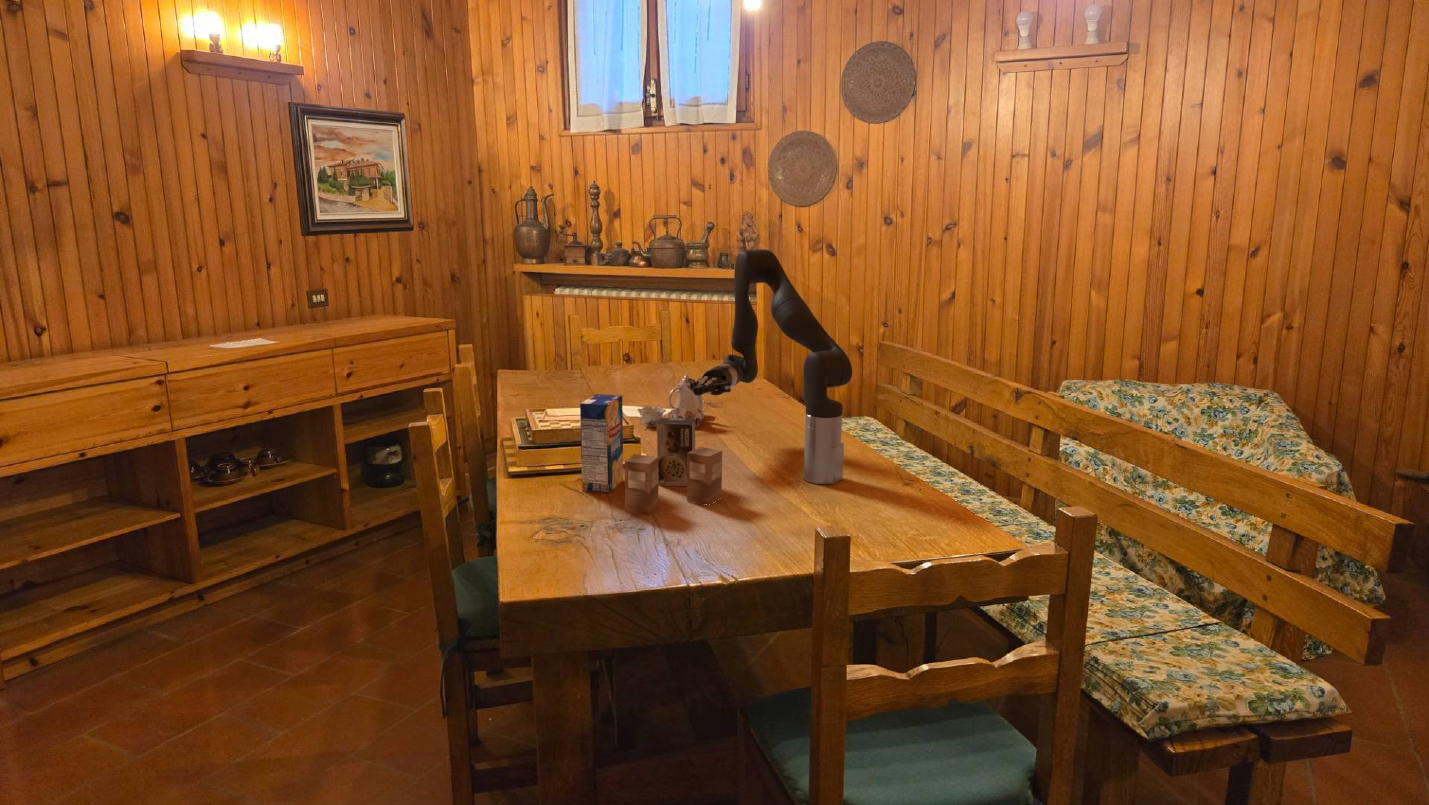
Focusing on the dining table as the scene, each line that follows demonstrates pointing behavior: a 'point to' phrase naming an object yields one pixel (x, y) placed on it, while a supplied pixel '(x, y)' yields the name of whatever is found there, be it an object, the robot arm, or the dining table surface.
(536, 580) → the dining table surface
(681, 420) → the coffee box
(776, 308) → the robot arm
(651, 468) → the marked block 1
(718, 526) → the dining table surface
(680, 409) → the chinaware
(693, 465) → the marked block 2
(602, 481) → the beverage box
